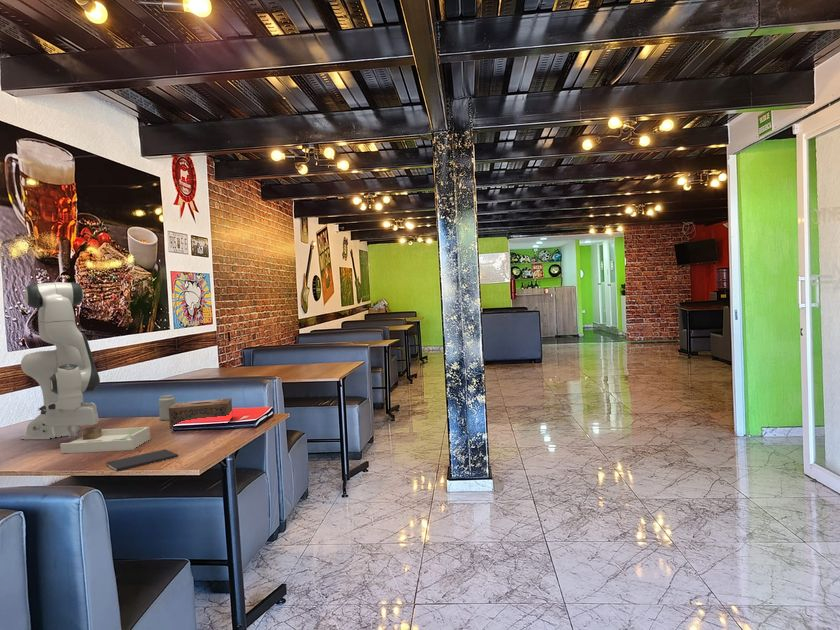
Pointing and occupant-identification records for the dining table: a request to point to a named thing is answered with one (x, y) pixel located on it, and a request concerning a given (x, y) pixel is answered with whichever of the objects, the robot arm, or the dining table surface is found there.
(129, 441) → the box
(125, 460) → the notebook
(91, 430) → the walnut block
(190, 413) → the tissue box cover
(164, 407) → the can
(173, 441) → the dining table surface
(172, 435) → the dining table surface
